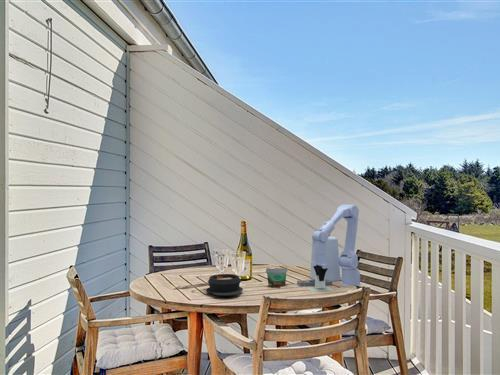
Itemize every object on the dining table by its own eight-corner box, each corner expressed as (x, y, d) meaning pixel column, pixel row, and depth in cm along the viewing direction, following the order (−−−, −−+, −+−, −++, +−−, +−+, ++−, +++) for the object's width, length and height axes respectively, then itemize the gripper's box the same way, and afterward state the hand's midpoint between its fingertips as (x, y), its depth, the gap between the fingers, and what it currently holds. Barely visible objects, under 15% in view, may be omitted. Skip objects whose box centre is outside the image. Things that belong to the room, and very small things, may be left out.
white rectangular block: (323, 286, 205) (323, 275, 205) (325, 287, 202) (325, 276, 202) (315, 287, 204) (315, 275, 204) (316, 288, 201) (316, 276, 202)
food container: (269, 288, 207) (269, 269, 207) (265, 286, 212) (265, 267, 213) (291, 287, 210) (291, 268, 210) (287, 284, 216) (286, 266, 216)
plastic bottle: (308, 278, 234) (307, 231, 235) (330, 276, 238) (330, 230, 239) (319, 283, 219) (318, 233, 220) (343, 281, 223) (342, 232, 224)
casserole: (204, 288, 207) (204, 272, 208) (238, 287, 211) (238, 271, 211) (208, 300, 183) (208, 282, 183) (247, 298, 186) (247, 280, 187)
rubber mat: (328, 287, 208) (328, 286, 208) (334, 291, 200) (334, 290, 200) (307, 288, 206) (307, 287, 206) (311, 292, 198) (311, 291, 198)
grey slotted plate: (328, 283, 217) (328, 278, 217) (332, 286, 211) (332, 280, 211) (297, 285, 215) (297, 279, 215) (300, 287, 209) (300, 281, 209)
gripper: (308, 252, 210) (308, 277, 210) (317, 256, 196) (317, 283, 196) (321, 252, 211) (321, 277, 211) (330, 255, 197) (330, 282, 197)
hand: (320, 280), depth 203 cm, fingers closed on white rectangular block, 3 cm apart
